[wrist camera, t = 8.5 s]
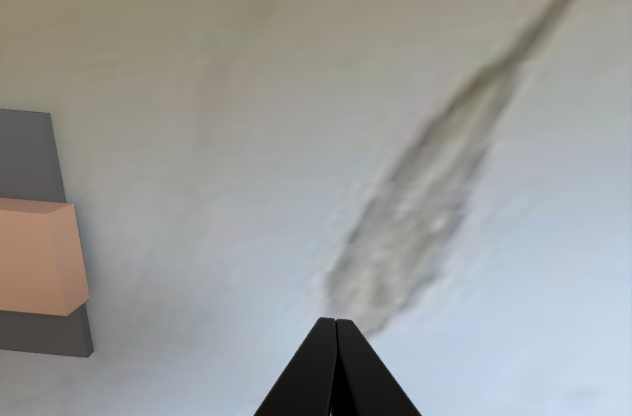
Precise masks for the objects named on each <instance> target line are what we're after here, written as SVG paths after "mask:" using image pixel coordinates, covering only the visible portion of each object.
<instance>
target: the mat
mask: <svg viewBox="0 0 632 416" xmlns="http://www.w3.org/2000/svg"><path fill="white" fill-rule="evenodd" d="M0 198H10V199H22V200H33V201H45V202H57V203H66V200H65V194H64V189H63V183H62V178H61V172H60V167H59V162H58V156H57V151H56V145H55V140H54V135H53V129H52V124H51V118H50V113H42V112H30V111H18V110H6V109H0ZM0 349H3V350H13V351H23V352H34V353H44V354H54V355H65V356H75V357H86V358H88V357H89V356H90V355H91V354H92V353H93V352H94V351H93V346H92V340H91V335H90V330H89V324H88V319H87V313H86V308H85V303H83V304H82V305H81V306H79V307H78V308H77V309H76V310H74V311H73V312H72V313H70V314H69V315H68V316H60V315H49V314H38V313H28V312H17V311H6V310H0Z"/></svg>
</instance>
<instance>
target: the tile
mask: <svg viewBox="0 0 632 416" xmlns="http://www.w3.org/2000/svg"><path fill="white" fill-rule="evenodd" d="M88 299H90V293H89V288H88V282H87V277H86V271H85V265H84V260H83V254H82V249H81V243H80V237H79V232H78V226H77V220H76V215H75V209H74V204H68V203H57V202H45V201H33V200H22V199H10V198H0V310H6V311H17V312H28V313H38V314H49V315H60V316H68V315H69V314H70V313H72V312H73V311H74V310H76V309H77V308H78V307H79V306H81V305H82V304H83V303H85V302H86V301H87V300H88Z"/></svg>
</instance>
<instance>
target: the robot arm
mask: <svg viewBox="0 0 632 416" xmlns="http://www.w3.org/2000/svg"><path fill="white" fill-rule="evenodd" d="M330 413H331V416H422V415H421V414H420V412H419V411H418V410H417V408H416V407H415V406H414V404H413V403H412V402H411V400H410V399H409V397H408V396H407V395H406V393H405V392H404V391H403V389H402V388H401V386H400V385H399V384H398V382H397V381H396V380H395V378H394V377H393V376H392V374H391V373H390V371H389V370H388V369H387V367H386V366H385V365H384V363H383V362H382V361H381V359H380V358H379V356H378V355H377V354H376V352H375V351H374V350H373V348H372V347H371V346H370V344H369V343H368V341H367V340H366V339H365V337H364V336H363V335H362V333H361V332H360V331H359V329H358V328H357V326H356V325H355V324H354V322H353V321H352V320H347V319H337V320H336V321H335V319H334V318H325V317H320V318H319V319H318V320H317V322H316V323H315V325H314V326H313V328H312V329H311V331H310V332H309V334H308V335H307V337H306V338H305V340H304V341H303V343H302V344H301V346H300V347H299V348H298V350H297V351H296V353H295V354H294V356H293V357H292V359H291V360H290V362H289V363H288V365H287V366H286V368H285V369H284V371H283V372H282V374H281V375H280V377H279V378H278V380H277V381H276V383H275V384H274V386H273V387H272V389H271V390H270V392H269V393H268V395H267V396H266V398H265V399H264V401H263V402H262V404H261V405H260V407H259V408H258V410H257V411H256V413H255V414H254V416H330Z"/></svg>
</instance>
